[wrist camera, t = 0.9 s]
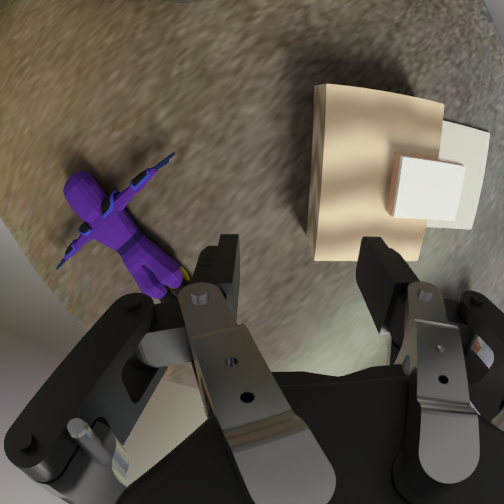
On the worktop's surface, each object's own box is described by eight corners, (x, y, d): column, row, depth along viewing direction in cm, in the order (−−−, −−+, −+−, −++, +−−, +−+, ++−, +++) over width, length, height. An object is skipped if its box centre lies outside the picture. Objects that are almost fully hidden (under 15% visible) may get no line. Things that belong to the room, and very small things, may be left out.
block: (314, 85, 33) (326, 83, 27) (416, 100, 33) (444, 104, 26) (306, 235, 42) (314, 260, 36) (397, 237, 42) (417, 260, 36)
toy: (281, 268, 46) (144, 104, 34) (283, 291, 41) (127, 106, 30) (156, 341, 54) (38, 224, 42) (149, 363, 49) (20, 239, 38)
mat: (427, 117, 34) (429, 117, 33) (488, 132, 33) (490, 133, 33) (411, 225, 41) (413, 226, 41) (470, 228, 41) (471, 229, 41)
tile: (394, 151, 30) (402, 155, 28) (457, 161, 30) (466, 165, 28) (386, 211, 33) (392, 218, 31) (447, 215, 33) (455, 222, 31)
